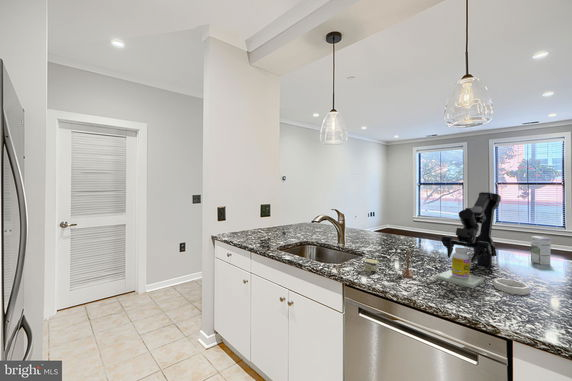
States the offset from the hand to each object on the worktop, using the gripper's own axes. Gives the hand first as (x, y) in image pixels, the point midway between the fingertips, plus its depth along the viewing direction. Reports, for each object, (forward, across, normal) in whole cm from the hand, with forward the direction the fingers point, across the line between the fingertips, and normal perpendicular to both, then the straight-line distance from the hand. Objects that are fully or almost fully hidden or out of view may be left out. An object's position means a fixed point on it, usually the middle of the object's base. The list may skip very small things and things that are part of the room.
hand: (459, 259), depth 117 cm
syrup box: (-39, +17, +53) cm, 68 cm away
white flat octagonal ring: (+2, +17, +11) cm, 20 cm away
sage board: (+6, 0, +8) cm, 9 cm away
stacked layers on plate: (+22, -31, -8) cm, 39 cm away
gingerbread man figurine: (+15, -17, -2) cm, 23 cm away
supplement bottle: (+5, 0, +7) cm, 8 cm away
